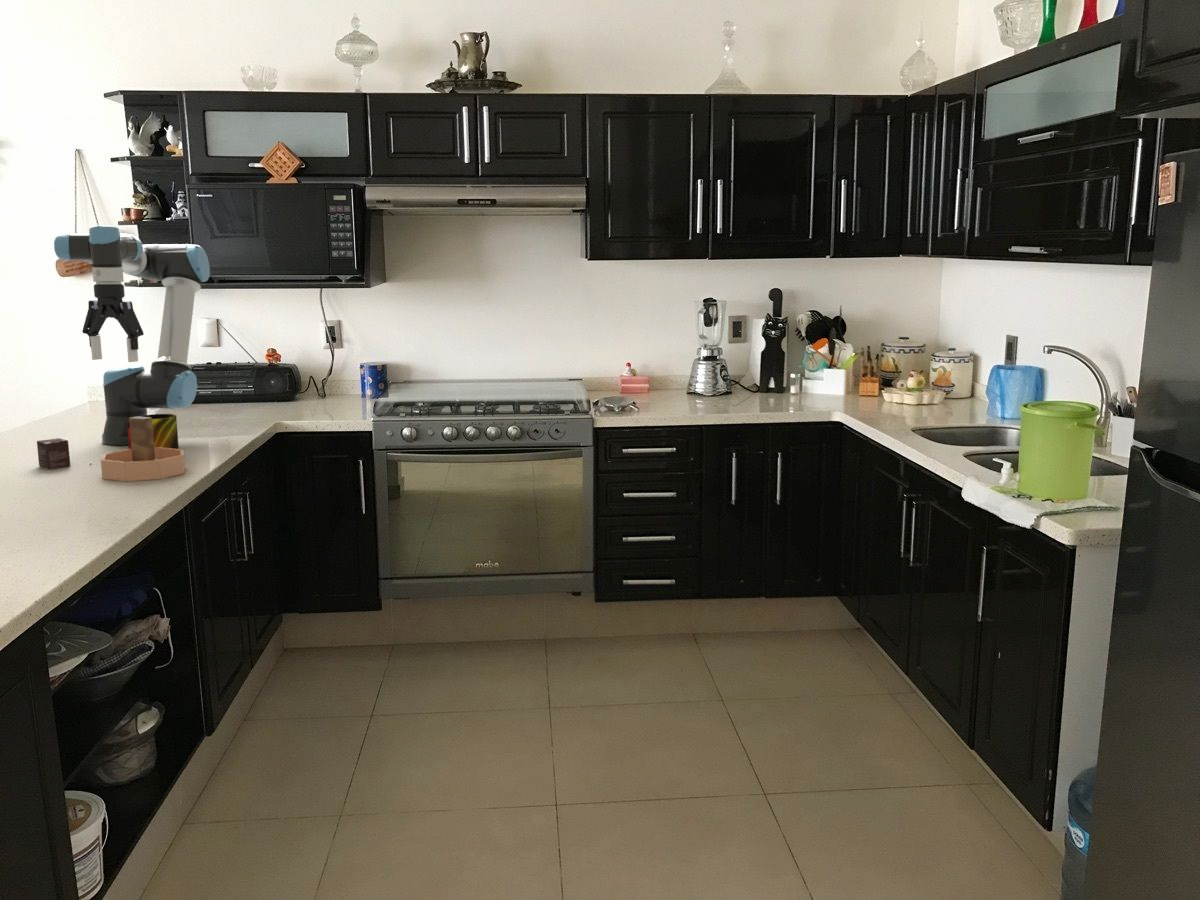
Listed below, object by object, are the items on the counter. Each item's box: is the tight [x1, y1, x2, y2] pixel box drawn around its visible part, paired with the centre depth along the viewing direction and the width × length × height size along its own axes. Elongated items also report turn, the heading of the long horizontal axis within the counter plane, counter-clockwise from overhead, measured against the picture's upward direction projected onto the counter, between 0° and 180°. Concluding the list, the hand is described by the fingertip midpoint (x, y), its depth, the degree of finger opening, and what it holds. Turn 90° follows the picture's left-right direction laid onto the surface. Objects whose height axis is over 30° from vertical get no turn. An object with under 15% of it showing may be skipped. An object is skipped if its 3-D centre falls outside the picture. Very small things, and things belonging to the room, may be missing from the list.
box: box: [36, 437, 71, 470], centre depth 280 cm, size 6×6×7 cm
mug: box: [127, 413, 180, 449], centre depth 293 cm, size 10×14×12 cm
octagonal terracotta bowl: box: [100, 447, 186, 482], centre depth 272 cm, size 20×20×5 cm
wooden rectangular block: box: [129, 416, 155, 461], centre depth 271 cm, size 3×5×14 cm, turn 66°
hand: (115, 360), depth 283 cm, fingers open, 13 cm apart
